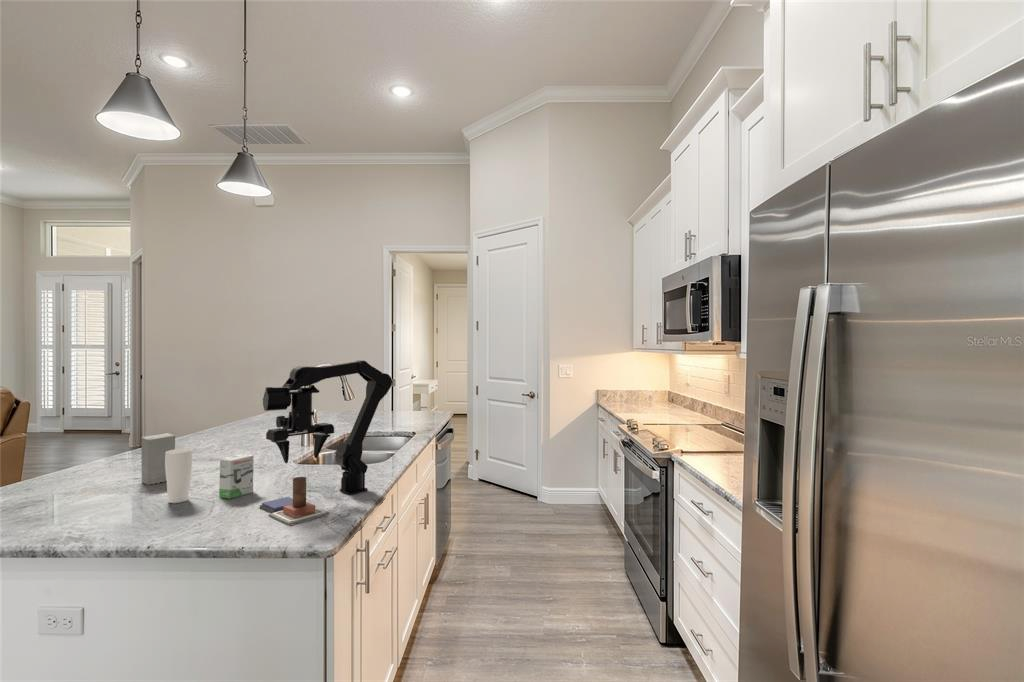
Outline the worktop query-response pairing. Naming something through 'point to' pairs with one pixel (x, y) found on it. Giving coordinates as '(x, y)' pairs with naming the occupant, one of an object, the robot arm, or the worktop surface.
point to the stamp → (299, 500)
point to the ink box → (236, 476)
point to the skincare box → (155, 457)
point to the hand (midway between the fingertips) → (301, 460)
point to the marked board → (291, 521)
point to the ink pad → (276, 504)
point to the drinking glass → (178, 474)
